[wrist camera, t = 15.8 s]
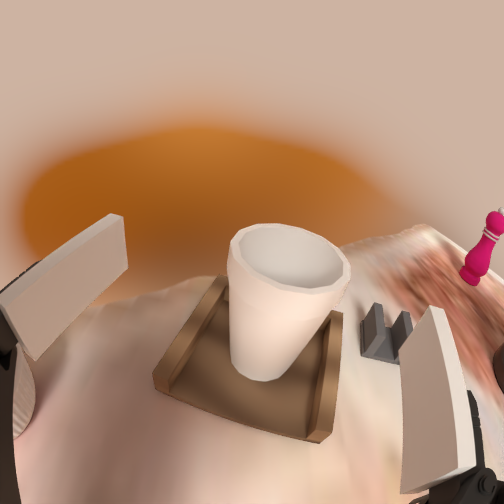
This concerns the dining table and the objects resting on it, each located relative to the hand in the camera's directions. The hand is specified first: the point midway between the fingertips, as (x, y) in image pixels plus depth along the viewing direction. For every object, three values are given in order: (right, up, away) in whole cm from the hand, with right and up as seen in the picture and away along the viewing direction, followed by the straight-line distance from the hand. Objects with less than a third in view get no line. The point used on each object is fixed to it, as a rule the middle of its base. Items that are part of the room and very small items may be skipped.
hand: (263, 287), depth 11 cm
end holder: (0, -10, +18) cm, 20 cm away
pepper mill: (+53, -5, +42) cm, 68 cm away
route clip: (+16, -11, +22) cm, 29 cm away
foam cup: (0, -10, +17) cm, 20 cm away
